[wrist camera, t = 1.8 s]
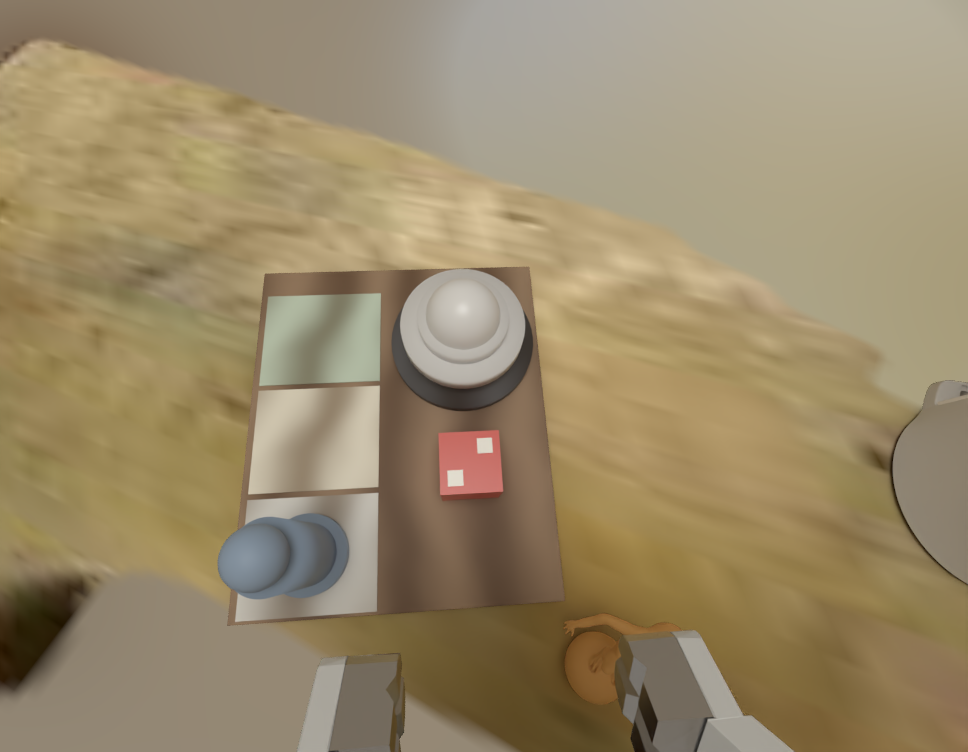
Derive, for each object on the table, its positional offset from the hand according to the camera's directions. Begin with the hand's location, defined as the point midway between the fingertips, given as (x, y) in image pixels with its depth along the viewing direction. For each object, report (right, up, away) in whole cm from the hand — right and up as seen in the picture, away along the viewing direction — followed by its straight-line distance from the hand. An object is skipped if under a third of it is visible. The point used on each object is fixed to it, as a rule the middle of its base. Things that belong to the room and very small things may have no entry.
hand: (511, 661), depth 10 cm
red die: (-2, -1, +25) cm, 25 cm away
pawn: (-12, -6, +22) cm, 26 cm away
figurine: (+7, -13, +23) cm, 27 cm away
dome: (-2, +9, +26) cm, 28 cm away
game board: (-7, +2, +27) cm, 28 cm away
